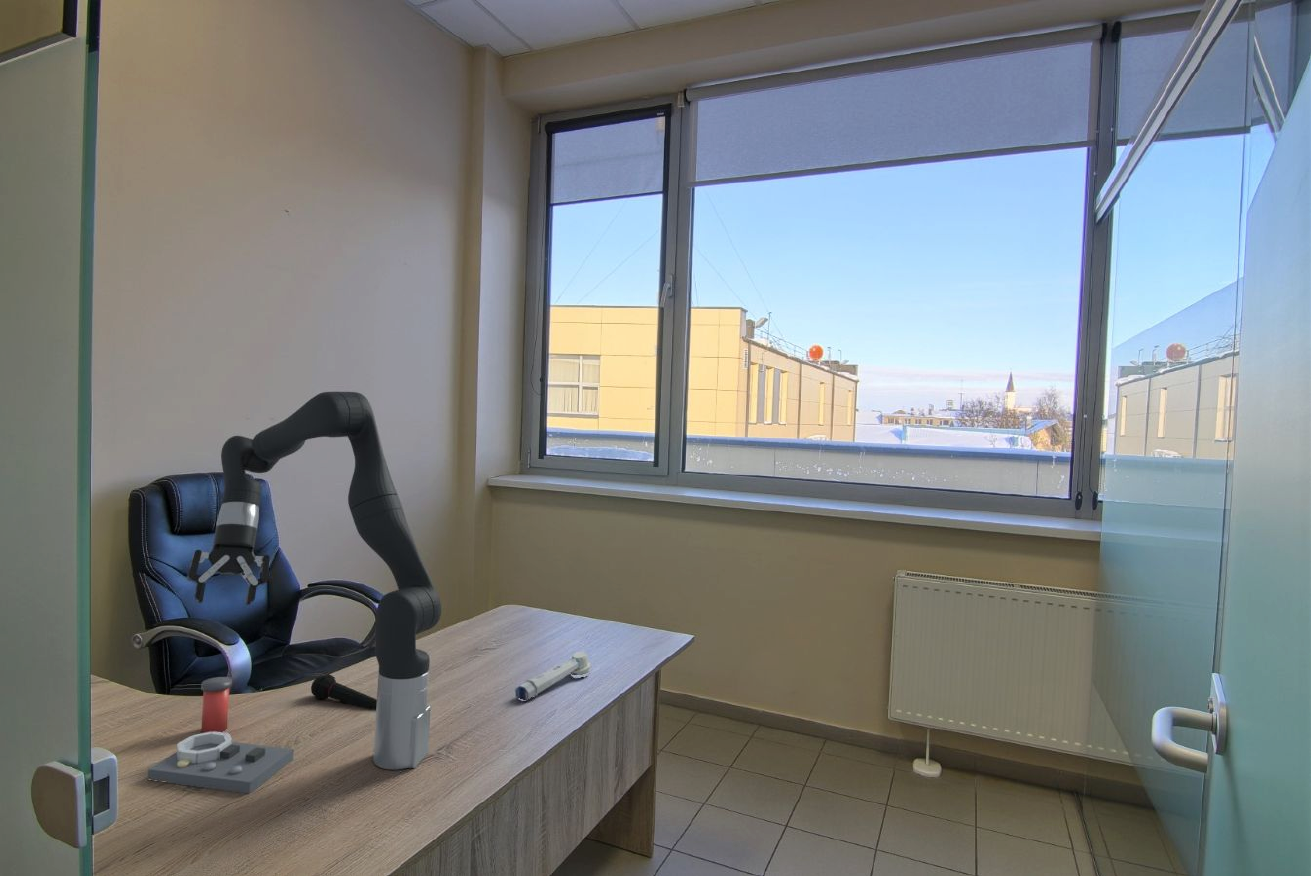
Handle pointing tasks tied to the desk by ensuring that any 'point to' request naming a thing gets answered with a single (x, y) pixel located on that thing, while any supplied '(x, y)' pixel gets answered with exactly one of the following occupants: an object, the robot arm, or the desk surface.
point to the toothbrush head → (553, 676)
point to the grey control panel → (220, 763)
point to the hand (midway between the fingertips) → (224, 603)
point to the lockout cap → (215, 704)
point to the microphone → (340, 692)
